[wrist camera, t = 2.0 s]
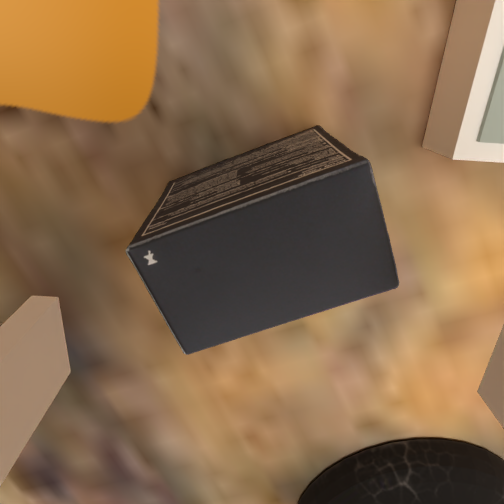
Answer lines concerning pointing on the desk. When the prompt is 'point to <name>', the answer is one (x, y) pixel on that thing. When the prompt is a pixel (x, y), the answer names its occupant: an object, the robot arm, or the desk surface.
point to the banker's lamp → (412, 476)
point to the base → (470, 86)
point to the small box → (264, 240)
